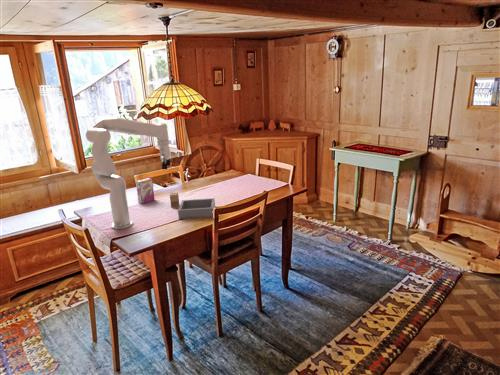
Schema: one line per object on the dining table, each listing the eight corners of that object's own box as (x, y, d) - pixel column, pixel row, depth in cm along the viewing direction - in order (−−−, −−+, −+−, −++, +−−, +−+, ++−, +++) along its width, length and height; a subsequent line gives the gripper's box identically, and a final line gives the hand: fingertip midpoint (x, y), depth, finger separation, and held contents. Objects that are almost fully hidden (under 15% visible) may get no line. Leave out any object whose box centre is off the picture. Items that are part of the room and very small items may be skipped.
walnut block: (178, 207, 249) (177, 194, 247) (171, 207, 249) (169, 195, 246) (179, 204, 254) (178, 192, 251) (172, 205, 254) (170, 193, 251)
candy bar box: (142, 204, 259) (139, 182, 255) (138, 202, 262) (135, 181, 258) (155, 199, 267) (152, 178, 263) (151, 198, 271) (148, 177, 266)
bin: (213, 217, 228) (213, 208, 226) (178, 219, 227) (177, 210, 225) (215, 206, 247) (214, 198, 245) (182, 208, 246) (182, 200, 244)
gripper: (165, 144, 229) (169, 170, 235) (171, 139, 246) (174, 163, 251) (154, 145, 230) (157, 171, 235) (160, 140, 246) (164, 164, 251)
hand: (166, 167), depth 243 cm, fingers open, 9 cm apart
